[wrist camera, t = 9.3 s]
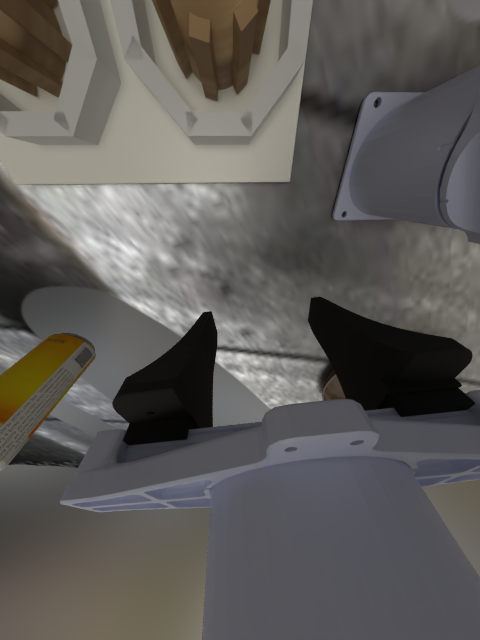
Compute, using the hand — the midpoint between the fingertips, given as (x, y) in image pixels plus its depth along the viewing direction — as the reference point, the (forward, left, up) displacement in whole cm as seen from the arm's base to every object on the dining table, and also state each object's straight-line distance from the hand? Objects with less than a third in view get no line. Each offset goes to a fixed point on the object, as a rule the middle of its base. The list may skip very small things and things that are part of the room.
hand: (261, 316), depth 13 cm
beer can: (+26, +11, -10) cm, 30 cm away
